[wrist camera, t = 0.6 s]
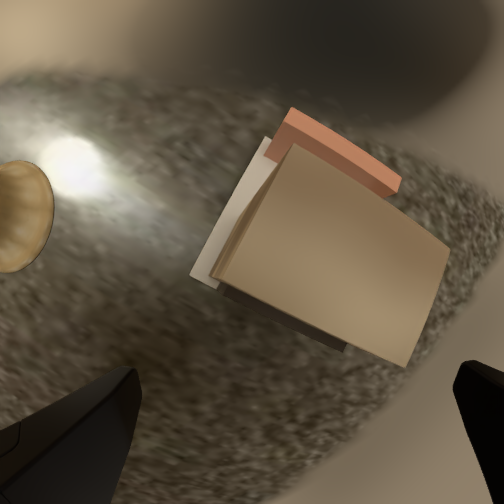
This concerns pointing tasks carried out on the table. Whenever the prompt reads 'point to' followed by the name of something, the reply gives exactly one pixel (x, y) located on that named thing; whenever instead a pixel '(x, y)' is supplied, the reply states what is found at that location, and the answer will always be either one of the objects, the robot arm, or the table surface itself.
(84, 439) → the robot arm
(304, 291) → the tan tall block
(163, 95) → the table surface
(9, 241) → the hand bell
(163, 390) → the table surface
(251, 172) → the base
